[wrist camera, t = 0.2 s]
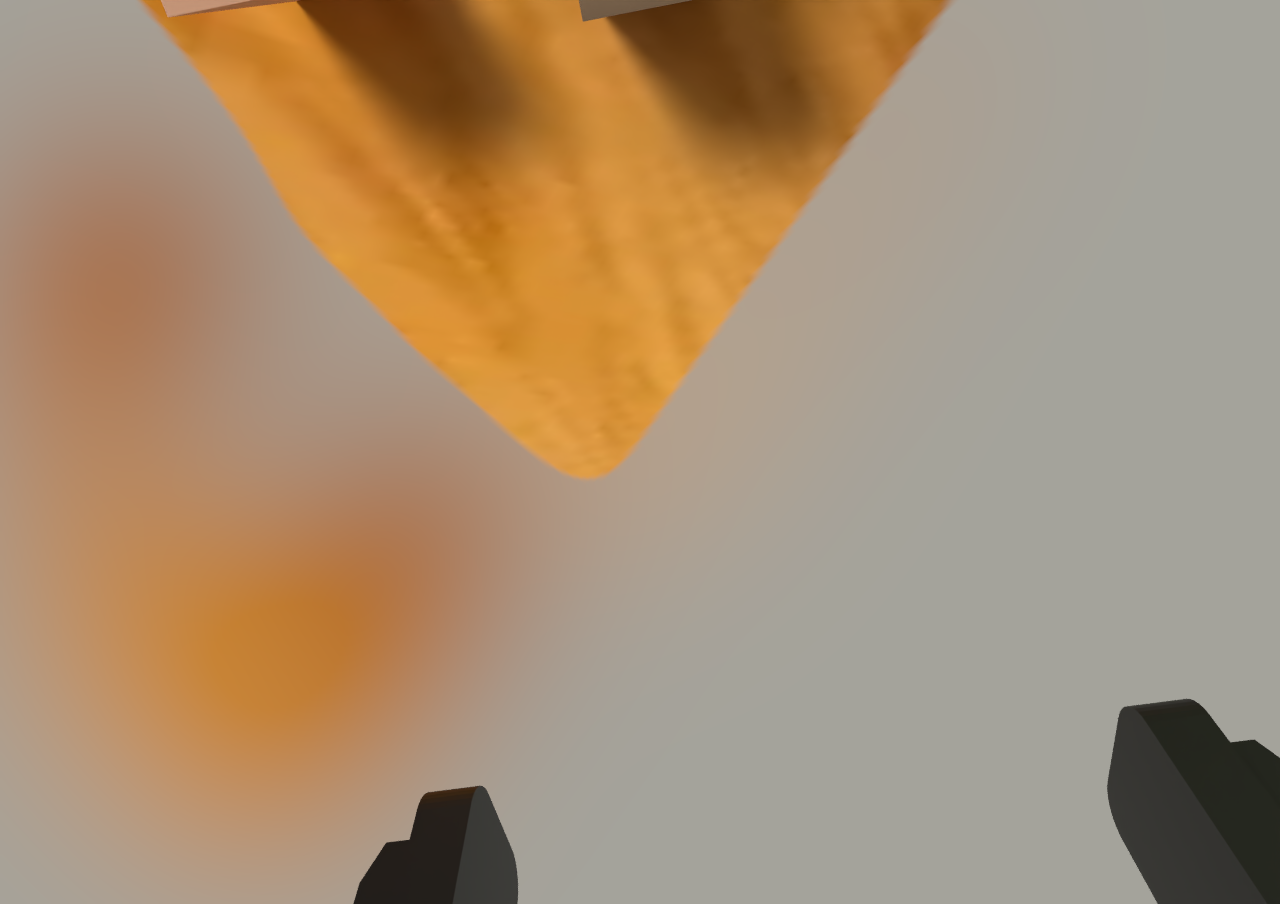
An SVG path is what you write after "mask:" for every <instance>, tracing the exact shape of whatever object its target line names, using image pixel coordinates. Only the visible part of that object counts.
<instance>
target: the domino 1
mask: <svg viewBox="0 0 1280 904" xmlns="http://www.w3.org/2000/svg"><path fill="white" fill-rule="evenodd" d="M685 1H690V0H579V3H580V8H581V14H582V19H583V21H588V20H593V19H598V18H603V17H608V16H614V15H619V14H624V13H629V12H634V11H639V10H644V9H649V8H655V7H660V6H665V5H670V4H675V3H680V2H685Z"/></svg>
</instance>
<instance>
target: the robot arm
mask: <svg viewBox="0 0 1280 904" xmlns="http://www.w3.org/2000/svg"><path fill="white" fill-rule="evenodd" d="M1107 790H1108V799H1109V805H1110V809H1111V813H1112V816H1113V819H1114V822H1115V824H1116V827H1117V829H1118V831H1119V834H1120V836H1121V838H1122V840H1123V842H1124V843H1125V845H1126V847H1127V849H1128V851H1129V852H1130V854H1131V856H1132V858H1133V860H1134V862H1135V863H1136V865H1137V867H1138V869H1139V871H1140V872H1141V874H1142V876H1143V878H1144V880H1145V881H1146V883H1147V885H1148V887H1149V888H1150V890H1151V892H1152V894H1153V896H1154V898H1155V900H1156V901H1157V903H1158V904H1280V758H1279V757H1278V756H1276V755H1275V754H1274V753H1272V752H1271V751H1269V750H1268V749H1267V748H1265V747H1264V746H1263V745H1261V744H1260V743H1258V742H1257V741H1256V740H1247V741H1239V742H1230V741H1229V740H1228V739H1227V737H1226V736H1225V735H1224V733H1223V732H1222V731H1221V730H1220V728H1219V727H1218V726H1217V724H1216V723H1215V722H1214V720H1213V719H1212V718H1211V716H1210V715H1209V714H1208V713H1207V711H1206V710H1205V709H1204V708H1203V707H1202V706H1201V705H1200V704H1199V703H1197V702H1195V701H1194V700H1191V699H1183V700H1174V701H1166V702H1159V703H1150V704H1143V705H1136V706H1127V707H1124V708H1123V709H1122V710H1121V711H1120V714H1119V718H1118V724H1117V730H1116V736H1115V742H1114V748H1113V754H1112V759H1111V765H1110V771H1109V777H1108V785H1107ZM517 901H518V878H517V868H516V862H515V858H514V854H513V851H512V849H511V846H510V844H509V842H508V839H507V837H506V834H505V832H504V830H503V827H502V825H501V823H500V820H499V818H498V815H497V813H496V811H495V808H494V806H493V804H492V801H491V799H490V797H489V794H488V792H487V790H486V789H485V788H484V787H483V786H475V787H467V788H459V789H451V790H443V791H435V792H428V793H426V794H425V795H424V796H423V797H422V799H421V800H420V803H419V805H418V809H417V812H416V817H415V820H414V824H413V829H412V832H411V837H410V840H404V841H396V842H388V843H386V844H385V845H384V847H383V848H382V850H381V852H380V853H379V855H378V856H377V858H376V859H375V861H374V862H373V864H372V865H371V867H370V868H369V870H368V871H367V873H366V874H365V876H364V877H363V879H362V880H361V882H360V884H359V887H358V890H357V894H356V897H355V900H354V904H517Z"/></svg>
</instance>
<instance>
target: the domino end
mask: <svg viewBox="0 0 1280 904" xmlns="http://www.w3.org/2000/svg"><path fill="white" fill-rule="evenodd" d="M161 1H162V4H163V6H164V9H165V11H166V14H167V16H168V17H174V16H182V15H190V14H198V13H206V12H214V11H222V10H230V9H238V8H246V7H254V6H262V5H269V4H277V3H285V2H293V1H299V0H161Z"/></svg>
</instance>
